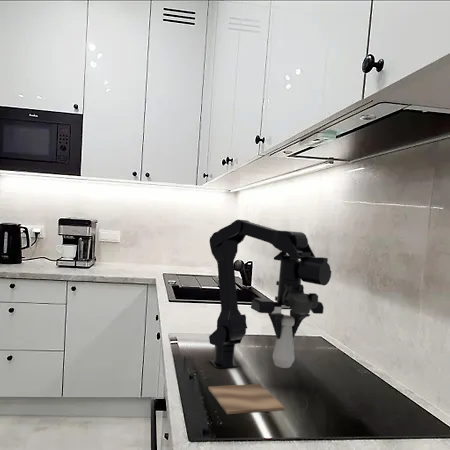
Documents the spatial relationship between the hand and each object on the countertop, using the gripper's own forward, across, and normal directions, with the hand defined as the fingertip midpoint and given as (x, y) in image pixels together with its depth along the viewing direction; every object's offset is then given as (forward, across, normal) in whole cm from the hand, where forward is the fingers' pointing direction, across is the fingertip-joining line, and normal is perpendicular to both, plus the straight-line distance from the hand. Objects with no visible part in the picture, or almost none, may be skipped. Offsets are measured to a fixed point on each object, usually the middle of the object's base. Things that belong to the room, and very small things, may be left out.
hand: (284, 338), depth 110 cm
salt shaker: (+7, 0, 0) cm, 7 cm away
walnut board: (+13, -12, -5) cm, 19 cm away
